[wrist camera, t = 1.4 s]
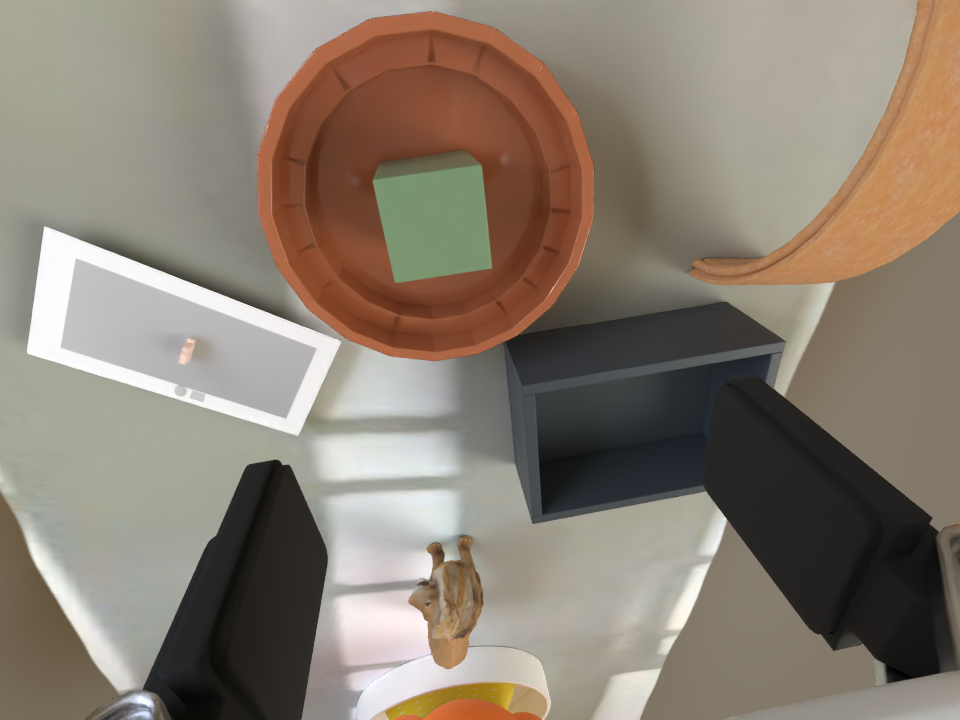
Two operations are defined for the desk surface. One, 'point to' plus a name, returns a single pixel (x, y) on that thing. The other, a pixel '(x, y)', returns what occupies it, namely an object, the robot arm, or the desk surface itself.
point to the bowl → (416, 132)
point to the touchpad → (173, 336)
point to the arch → (881, 175)
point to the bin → (625, 404)
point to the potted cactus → (461, 689)
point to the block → (433, 215)
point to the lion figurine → (449, 603)
